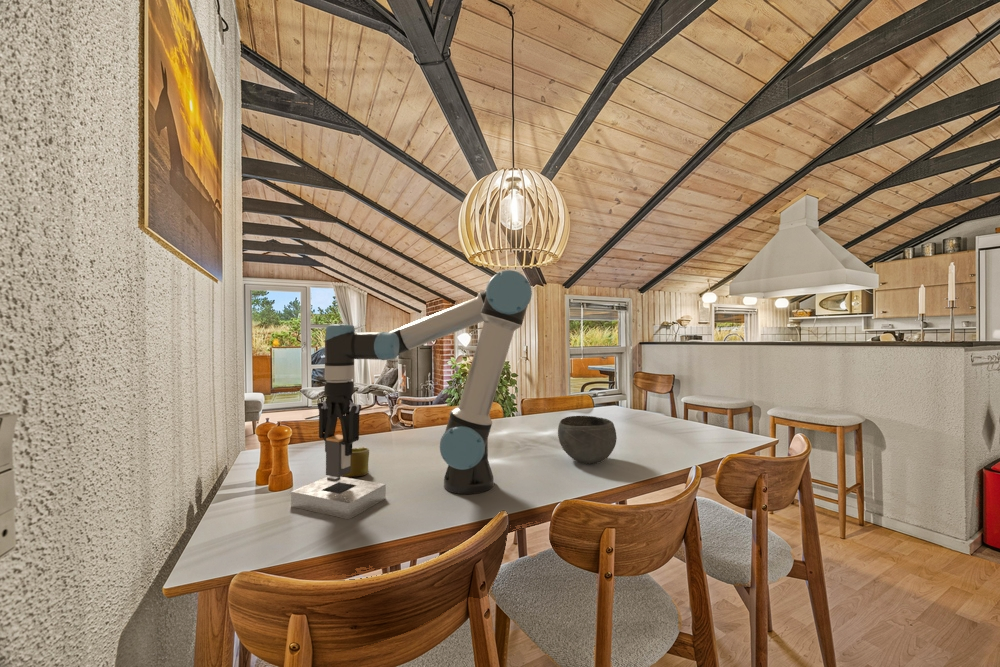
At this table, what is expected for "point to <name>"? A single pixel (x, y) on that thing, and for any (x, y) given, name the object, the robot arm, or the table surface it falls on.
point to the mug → (359, 462)
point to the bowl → (587, 438)
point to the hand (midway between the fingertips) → (338, 465)
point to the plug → (335, 457)
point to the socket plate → (338, 496)
